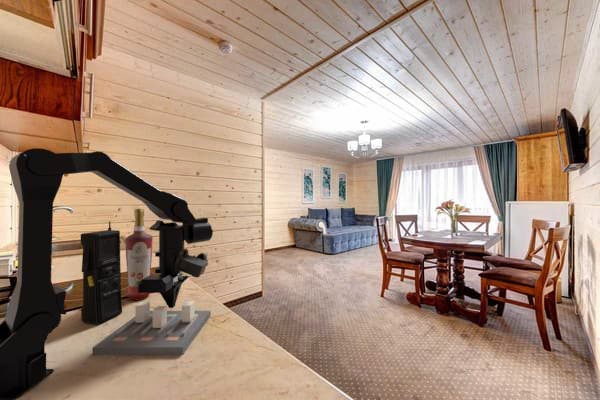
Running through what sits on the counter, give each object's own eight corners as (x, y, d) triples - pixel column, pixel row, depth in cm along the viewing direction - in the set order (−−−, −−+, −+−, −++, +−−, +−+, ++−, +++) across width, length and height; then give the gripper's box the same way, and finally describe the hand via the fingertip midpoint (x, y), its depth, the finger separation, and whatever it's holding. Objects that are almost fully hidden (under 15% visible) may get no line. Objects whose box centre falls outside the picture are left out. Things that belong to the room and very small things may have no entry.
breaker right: (181, 322, 59) (181, 305, 59) (186, 317, 61) (186, 301, 61) (190, 322, 59) (190, 305, 59) (194, 317, 61) (194, 301, 61)
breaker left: (135, 322, 59) (135, 305, 59) (141, 317, 61) (141, 301, 61) (143, 322, 59) (143, 305, 59) (149, 317, 61) (149, 301, 61)
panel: (92, 355, 49) (92, 344, 49) (142, 316, 65) (142, 308, 65) (182, 354, 50) (182, 344, 50) (210, 316, 66) (210, 308, 65)
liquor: (125, 303, 73) (125, 209, 73) (125, 296, 79) (124, 208, 79) (154, 298, 77) (153, 209, 77) (151, 290, 83) (151, 208, 83)
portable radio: (95, 327, 60) (94, 224, 59) (75, 325, 61) (75, 224, 61) (124, 312, 67) (124, 221, 67) (106, 310, 69) (106, 221, 68)
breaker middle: (152, 327, 56) (152, 310, 56) (158, 322, 59) (158, 305, 59) (161, 327, 56) (161, 310, 56) (166, 322, 59) (166, 305, 59)
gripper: (187, 255, 54) (187, 326, 54) (215, 240, 72) (215, 293, 72) (136, 254, 54) (135, 326, 54) (177, 240, 72) (177, 293, 72)
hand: (171, 307), depth 63 cm, fingers closed
